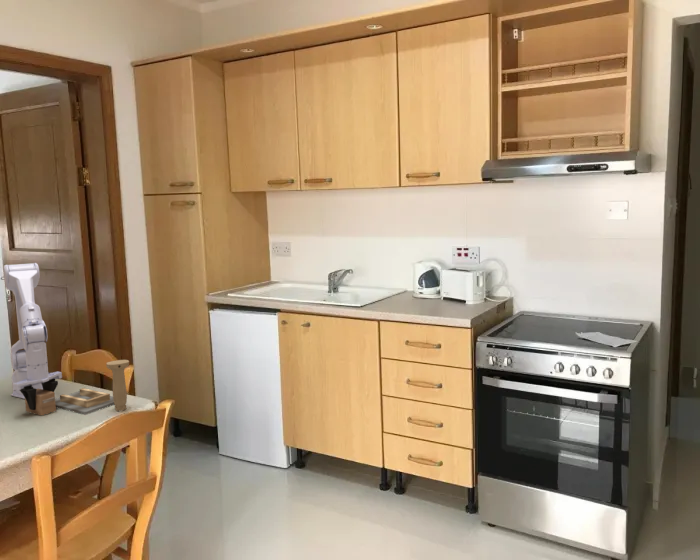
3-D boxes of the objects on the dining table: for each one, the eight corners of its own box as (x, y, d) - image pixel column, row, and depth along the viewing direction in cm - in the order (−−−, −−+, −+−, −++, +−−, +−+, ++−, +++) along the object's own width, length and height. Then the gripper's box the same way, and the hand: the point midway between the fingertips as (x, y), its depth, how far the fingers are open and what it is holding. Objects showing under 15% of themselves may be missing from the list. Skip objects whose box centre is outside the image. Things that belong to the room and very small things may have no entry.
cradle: (44, 404, 195) (43, 395, 194) (83, 392, 207) (82, 384, 206) (85, 414, 185) (84, 405, 184) (123, 401, 197) (122, 392, 196)
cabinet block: (26, 411, 188) (24, 392, 188) (39, 406, 192) (38, 388, 192) (43, 416, 184) (42, 396, 183) (57, 411, 188) (56, 392, 187)
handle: (108, 409, 189) (105, 362, 187) (129, 405, 192) (126, 359, 190) (111, 414, 185) (108, 365, 183) (133, 410, 188) (130, 362, 186)
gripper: (22, 371, 178) (25, 416, 180) (66, 359, 191) (70, 401, 192) (7, 368, 182) (11, 412, 184) (52, 357, 194) (55, 398, 196)
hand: (40, 406), depth 188 cm, fingers closed on cabinet block, 5 cm apart
